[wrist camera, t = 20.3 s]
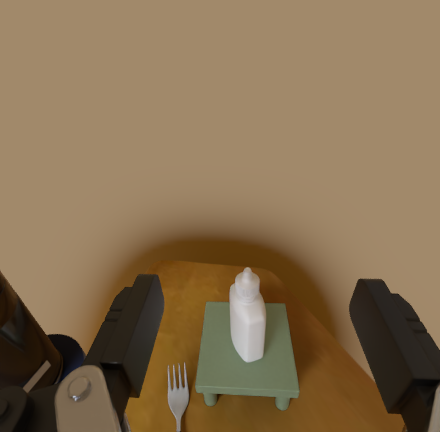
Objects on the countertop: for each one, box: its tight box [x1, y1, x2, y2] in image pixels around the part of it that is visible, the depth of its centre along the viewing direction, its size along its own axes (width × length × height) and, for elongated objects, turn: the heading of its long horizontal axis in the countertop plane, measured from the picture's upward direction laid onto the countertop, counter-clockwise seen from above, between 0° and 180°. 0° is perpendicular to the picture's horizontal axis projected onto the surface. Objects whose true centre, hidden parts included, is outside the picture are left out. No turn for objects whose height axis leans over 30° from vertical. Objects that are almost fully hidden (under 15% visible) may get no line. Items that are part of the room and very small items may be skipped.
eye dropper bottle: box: [229, 267, 266, 362], centre depth 29 cm, size 4×6×12 cm
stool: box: [195, 302, 300, 410], centre depth 34 cm, size 11×11×6 cm
